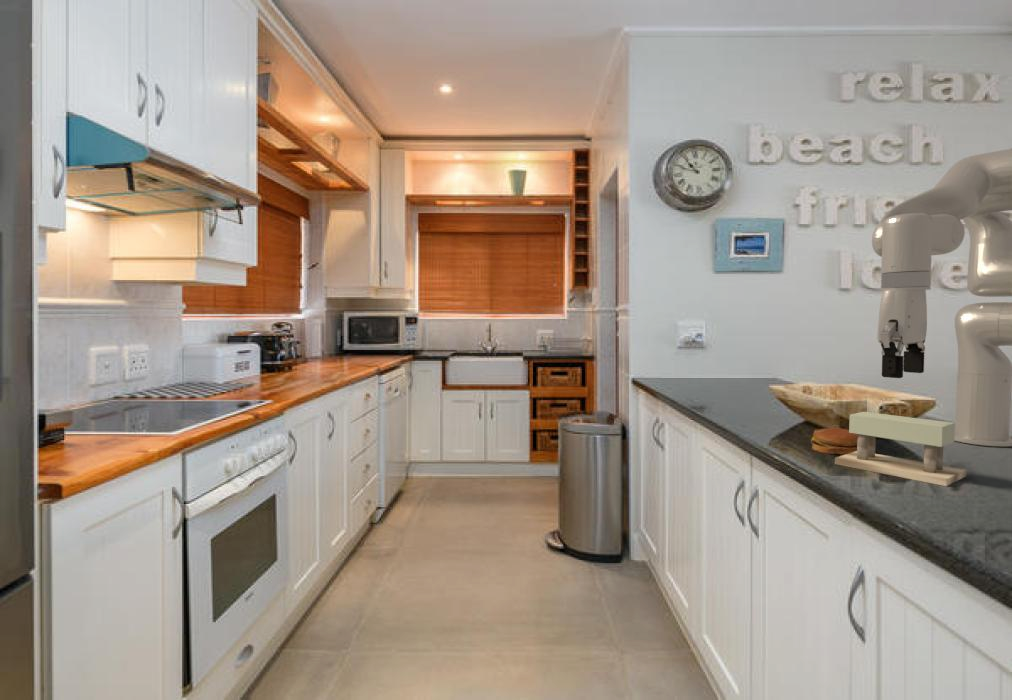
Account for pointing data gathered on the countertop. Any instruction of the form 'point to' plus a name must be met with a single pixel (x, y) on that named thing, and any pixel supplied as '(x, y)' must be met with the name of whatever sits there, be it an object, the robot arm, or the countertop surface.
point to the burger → (834, 441)
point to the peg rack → (902, 463)
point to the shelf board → (903, 428)
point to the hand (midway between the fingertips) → (903, 374)
